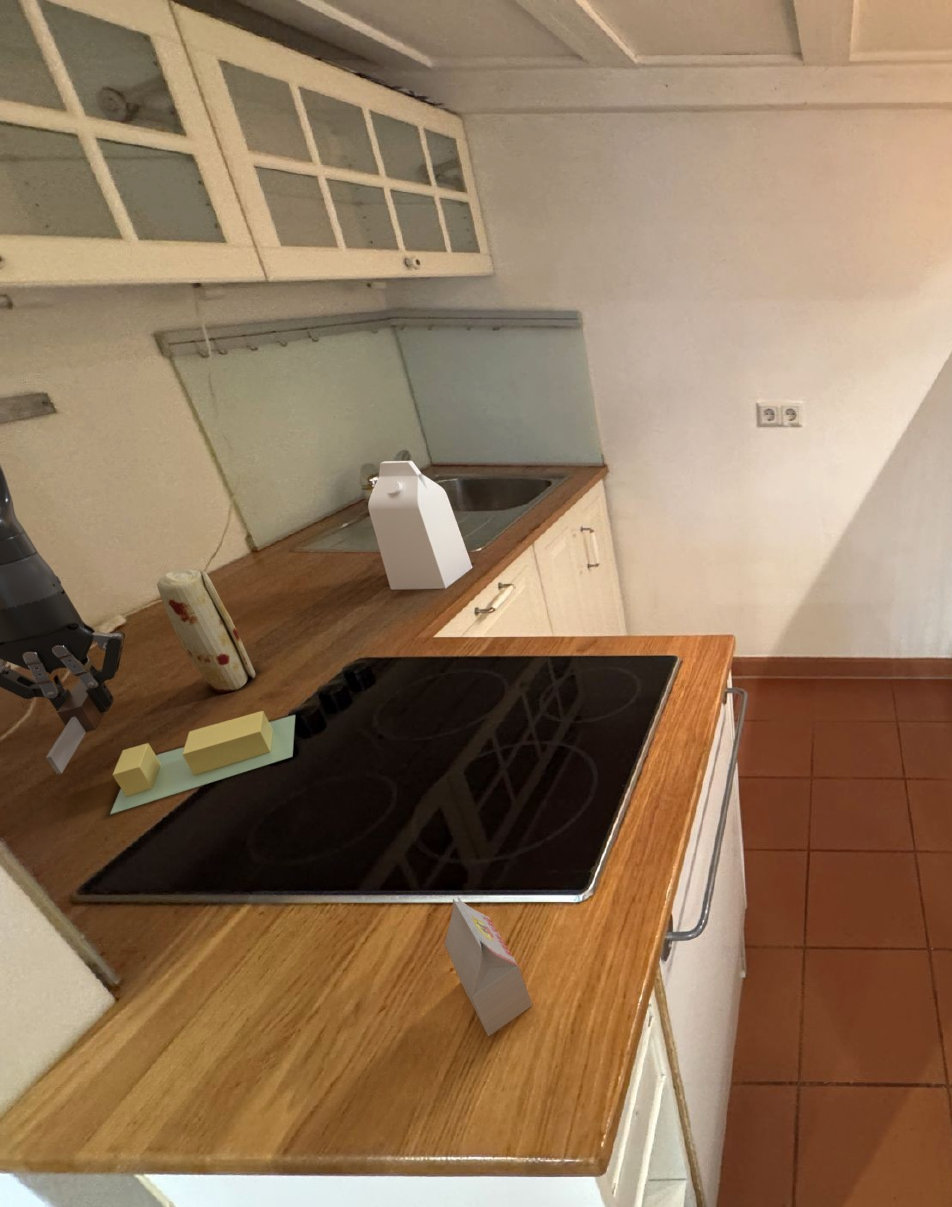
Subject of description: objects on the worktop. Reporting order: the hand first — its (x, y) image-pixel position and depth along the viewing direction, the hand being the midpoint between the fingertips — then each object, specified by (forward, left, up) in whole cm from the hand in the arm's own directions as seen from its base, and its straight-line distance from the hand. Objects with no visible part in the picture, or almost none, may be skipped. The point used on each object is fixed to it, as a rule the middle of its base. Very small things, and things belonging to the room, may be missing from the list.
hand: (91, 712), depth 87 cm
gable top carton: (+36, -67, -8) cm, 77 cm away
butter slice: (+4, -9, -7) cm, 12 cm away
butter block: (+13, -9, -7) cm, 18 cm away
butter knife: (0, -5, -1) cm, 5 cm away
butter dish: (+11, -9, -8) cm, 16 cm away
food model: (+11, +16, -8) cm, 21 cm away
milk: (+43, +45, -8) cm, 63 cm away
